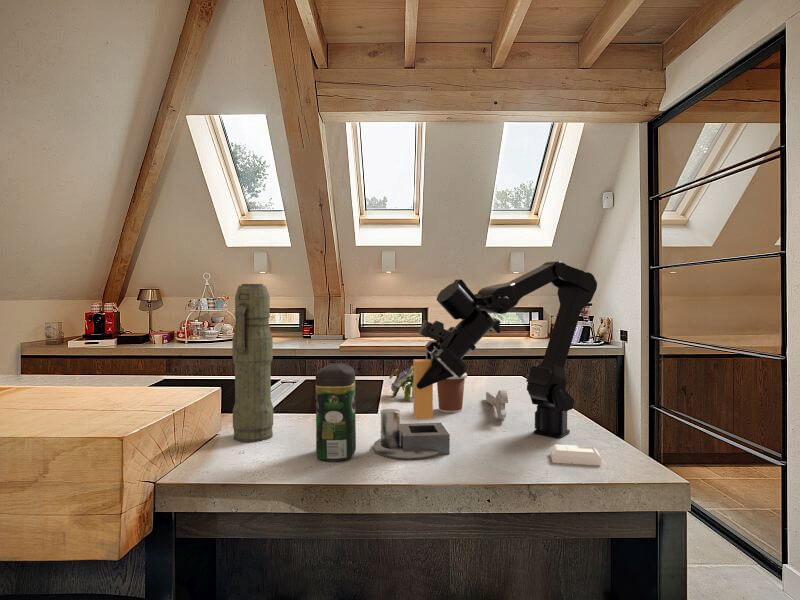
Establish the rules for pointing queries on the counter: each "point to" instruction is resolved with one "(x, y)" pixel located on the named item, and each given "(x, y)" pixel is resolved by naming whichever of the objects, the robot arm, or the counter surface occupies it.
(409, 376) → the passion flower
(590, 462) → the soap bar
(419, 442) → the desk organizer stand
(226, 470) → the counter surface
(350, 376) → the coffee jar
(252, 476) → the counter surface
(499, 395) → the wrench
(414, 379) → the wooden block
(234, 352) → the thermos
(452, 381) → the coffee cup
